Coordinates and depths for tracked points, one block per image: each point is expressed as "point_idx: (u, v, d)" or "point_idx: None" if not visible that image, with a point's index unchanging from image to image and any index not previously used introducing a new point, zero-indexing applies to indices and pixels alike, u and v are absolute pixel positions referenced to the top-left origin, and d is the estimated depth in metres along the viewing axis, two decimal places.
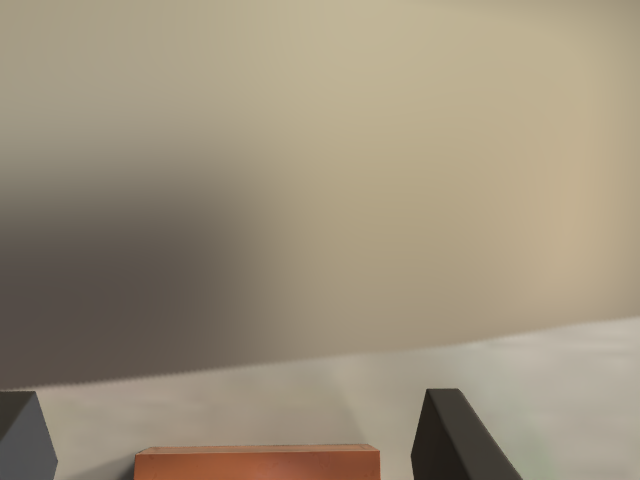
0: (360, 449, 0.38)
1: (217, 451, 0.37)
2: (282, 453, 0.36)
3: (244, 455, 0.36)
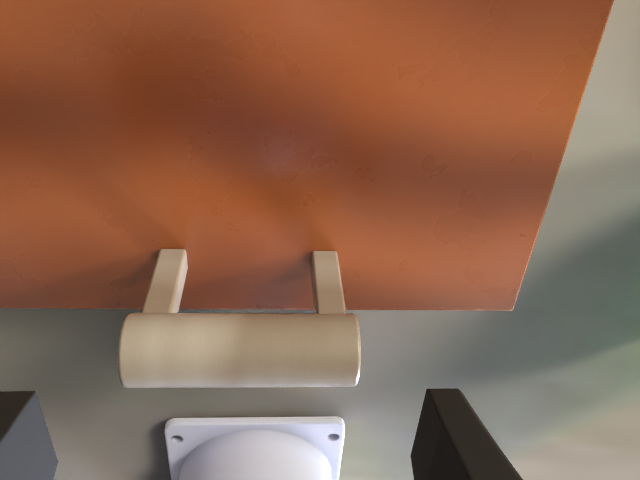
0: None
1: None
2: None
3: None
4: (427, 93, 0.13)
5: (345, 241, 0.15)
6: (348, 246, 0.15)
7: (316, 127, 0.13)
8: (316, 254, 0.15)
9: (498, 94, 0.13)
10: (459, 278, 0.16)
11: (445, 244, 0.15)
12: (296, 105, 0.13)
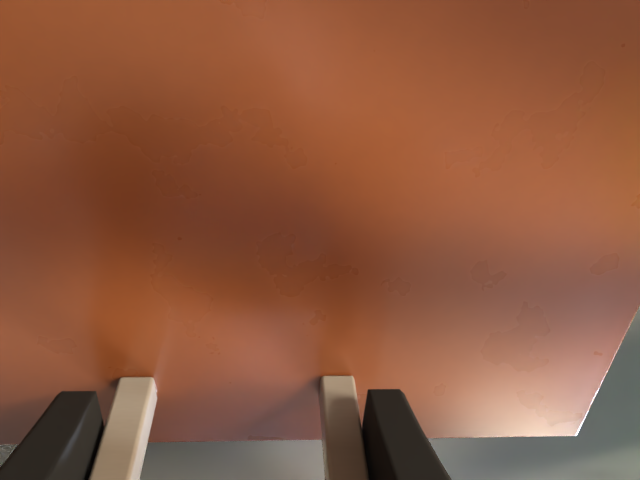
0: None
1: None
2: None
3: None
4: (484, 186, 0.09)
5: (365, 364, 0.11)
6: (369, 369, 0.12)
7: (329, 229, 0.10)
8: (326, 382, 0.11)
9: (581, 185, 0.09)
10: (512, 402, 0.12)
11: (497, 364, 0.12)
12: (301, 203, 0.09)
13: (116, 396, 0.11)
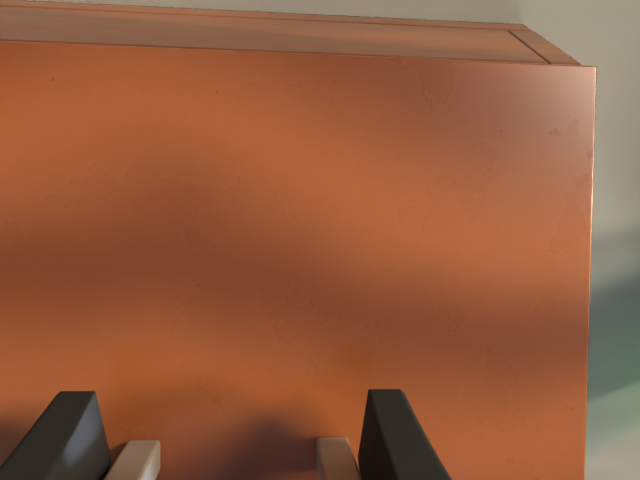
0: (534, 60, 0.13)
1: (121, 40, 0.13)
2: (313, 57, 0.12)
3: (198, 56, 0.12)
4: (431, 235, 0.12)
5: (357, 424, 0.12)
6: (361, 430, 0.12)
7: (316, 276, 0.12)
8: (321, 439, 0.12)
9: (503, 234, 0.13)
10: (505, 473, 0.13)
11: (479, 423, 0.13)
12: (293, 252, 0.12)
13: (124, 449, 0.11)
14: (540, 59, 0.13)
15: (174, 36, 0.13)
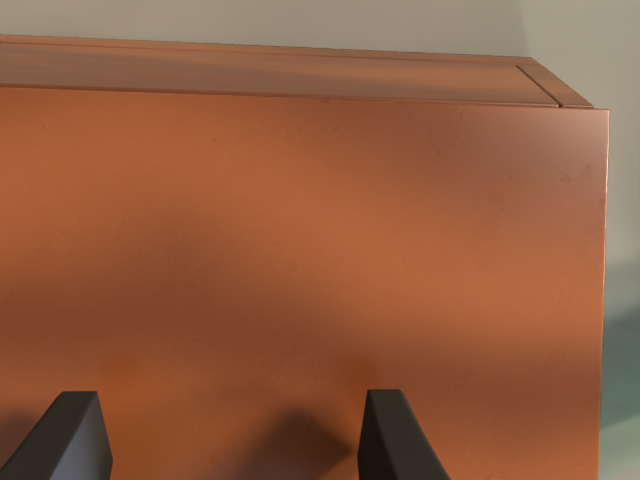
0: (544, 101, 0.13)
1: (115, 83, 0.12)
2: (315, 102, 0.12)
3: (195, 102, 0.11)
4: (436, 287, 0.12)
5: None
6: None
7: (317, 329, 0.12)
8: None
9: (513, 285, 0.12)
10: None
11: None
12: (294, 305, 0.12)
13: None
14: (550, 100, 0.13)
15: (170, 77, 0.13)
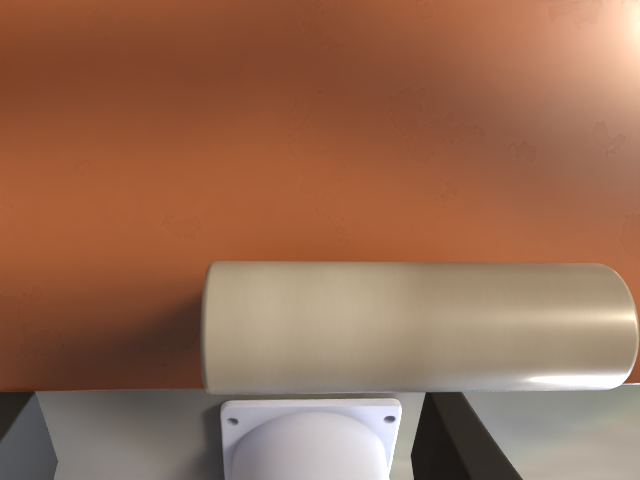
0: None
1: None
2: None
3: None
4: (587, 39, 0.11)
5: (501, 259, 0.11)
6: None
7: (455, 84, 0.10)
8: None
9: None
10: None
11: None
12: (429, 55, 0.10)
13: None
14: None
15: None
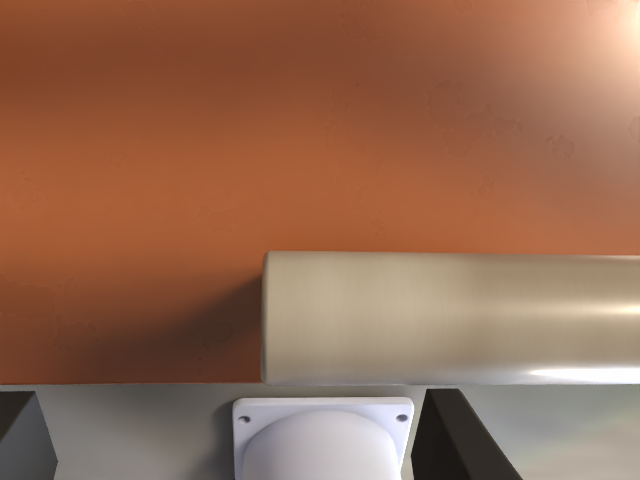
0: None
1: None
2: None
3: None
4: (624, 33, 0.11)
5: (537, 254, 0.11)
6: None
7: (493, 78, 0.10)
8: None
9: None
10: None
11: None
12: (467, 48, 0.10)
13: None
14: None
15: None
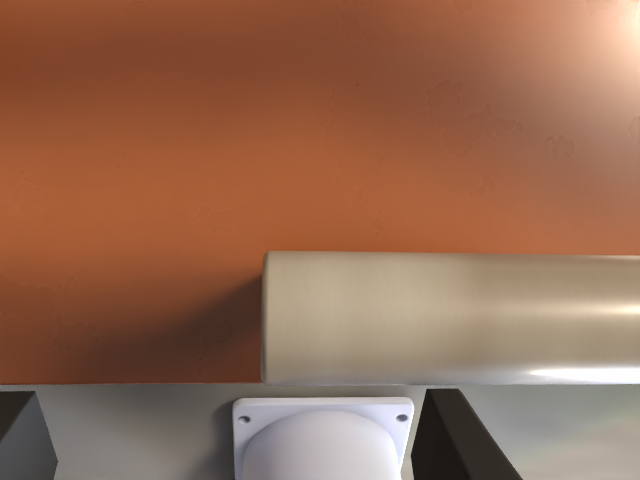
0: None
1: None
2: None
3: None
4: (624, 33, 0.11)
5: (537, 254, 0.11)
6: None
7: (493, 78, 0.10)
8: None
9: None
10: None
11: None
12: (467, 48, 0.10)
13: None
14: None
15: None
